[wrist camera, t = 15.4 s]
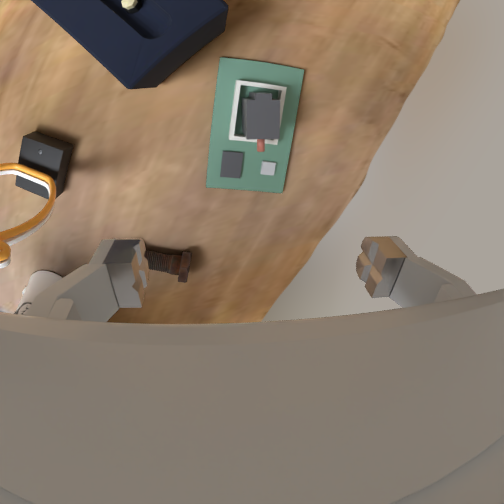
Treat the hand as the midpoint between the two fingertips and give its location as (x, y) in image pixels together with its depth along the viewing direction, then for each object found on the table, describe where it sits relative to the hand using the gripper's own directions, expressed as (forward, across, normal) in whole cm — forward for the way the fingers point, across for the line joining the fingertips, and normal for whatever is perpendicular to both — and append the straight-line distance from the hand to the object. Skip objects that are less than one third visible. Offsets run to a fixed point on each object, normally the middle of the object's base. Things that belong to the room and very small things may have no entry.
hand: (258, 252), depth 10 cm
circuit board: (+34, -4, 0) cm, 34 cm away
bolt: (+35, +13, +22) cm, 43 cm away
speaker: (+34, +13, -18) cm, 41 cm away
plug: (+33, -4, -2) cm, 33 cm away
